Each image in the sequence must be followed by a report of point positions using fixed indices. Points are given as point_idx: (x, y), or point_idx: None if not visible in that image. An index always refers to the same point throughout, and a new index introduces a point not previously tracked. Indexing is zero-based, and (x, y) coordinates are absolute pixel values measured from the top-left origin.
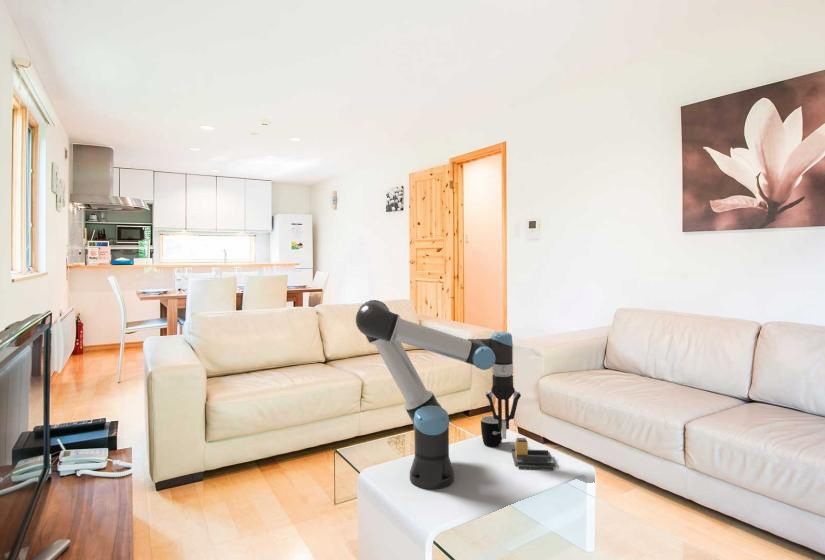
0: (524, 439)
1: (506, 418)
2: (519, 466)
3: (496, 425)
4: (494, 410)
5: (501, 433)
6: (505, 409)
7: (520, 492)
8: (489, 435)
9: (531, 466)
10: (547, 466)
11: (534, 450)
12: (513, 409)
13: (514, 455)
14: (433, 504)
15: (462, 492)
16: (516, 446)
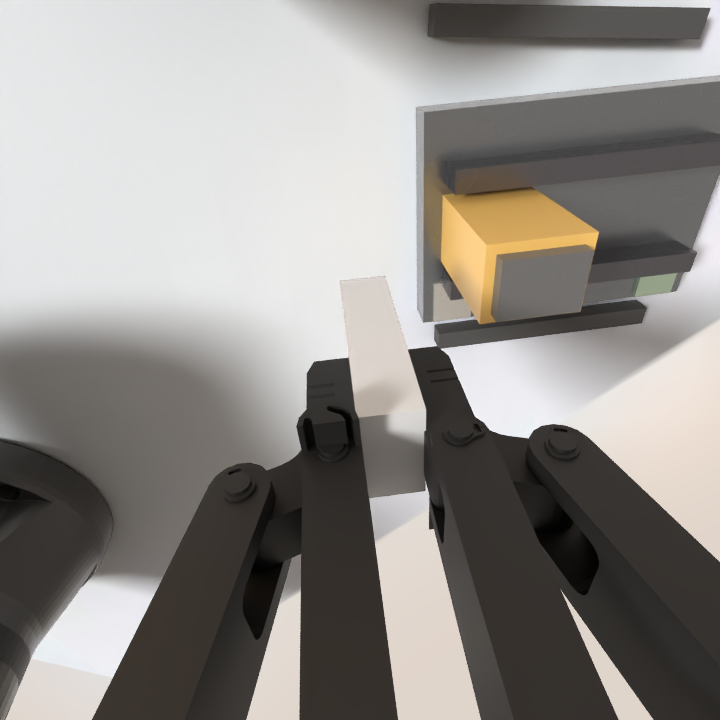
0: (569, 292)
1: (444, 521)
2: (440, 347)
3: None
4: (237, 705)
5: (342, 302)
6: (475, 687)
7: (408, 519)
8: None
9: (513, 338)
10: (610, 320)
11: (618, 168)
12: (643, 676)
13: (432, 211)
14: (110, 624)
15: None
16: (466, 296)
